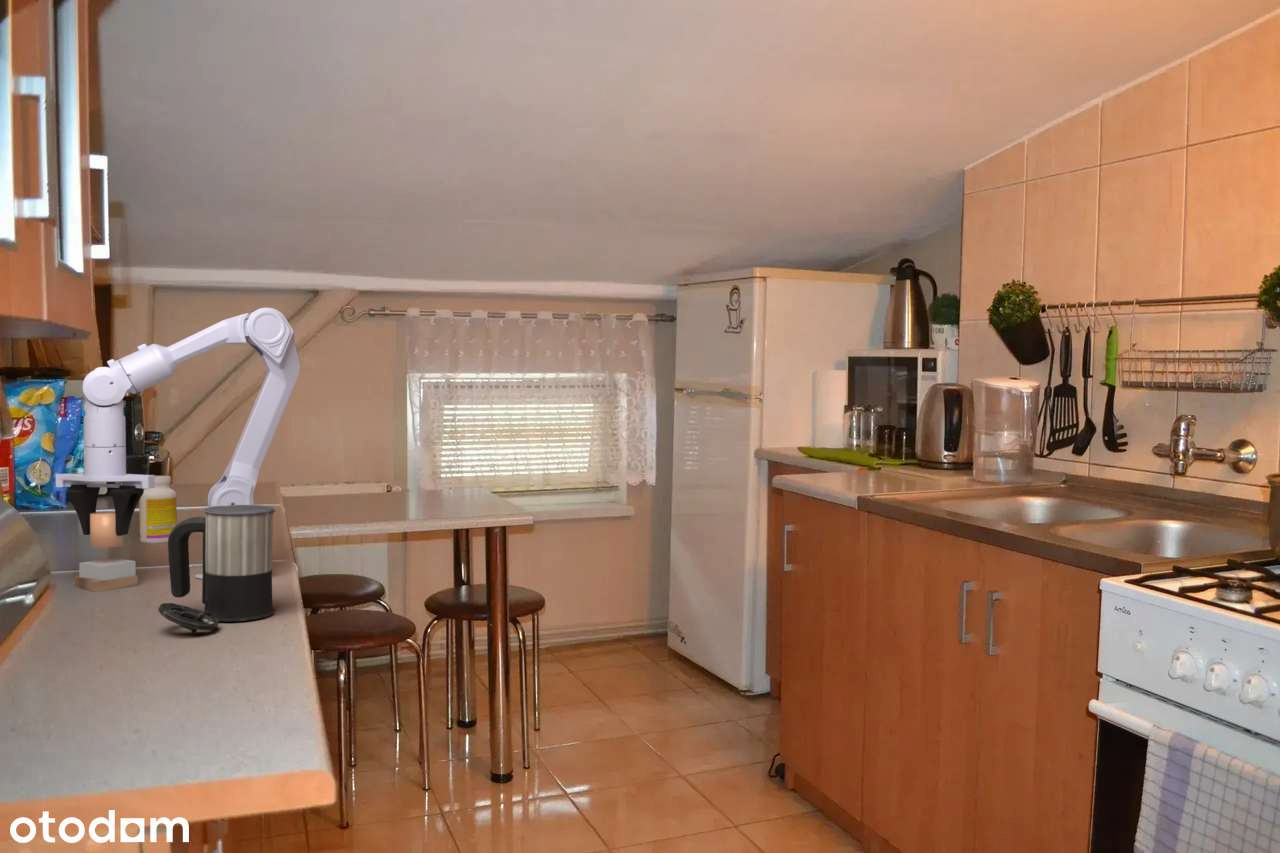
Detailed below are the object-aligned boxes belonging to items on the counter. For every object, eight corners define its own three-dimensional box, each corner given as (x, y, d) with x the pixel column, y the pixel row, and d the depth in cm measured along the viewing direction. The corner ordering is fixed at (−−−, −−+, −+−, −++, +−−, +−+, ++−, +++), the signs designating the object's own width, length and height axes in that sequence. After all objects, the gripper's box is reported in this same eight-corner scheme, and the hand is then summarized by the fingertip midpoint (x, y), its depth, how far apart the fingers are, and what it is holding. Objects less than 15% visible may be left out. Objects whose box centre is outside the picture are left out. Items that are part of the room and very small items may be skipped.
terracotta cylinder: (129, 545, 159) (129, 513, 159) (99, 548, 155) (99, 515, 155) (113, 542, 162) (113, 510, 161) (83, 545, 158) (84, 513, 158)
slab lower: (137, 589, 159) (137, 575, 159) (95, 596, 154) (94, 582, 154) (117, 584, 163) (117, 570, 163) (74, 590, 158) (74, 576, 158)
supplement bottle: (184, 541, 203) (183, 476, 202) (152, 545, 197) (152, 478, 196) (163, 538, 206) (163, 474, 206) (132, 542, 201) (131, 476, 200)
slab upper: (135, 575, 160) (135, 561, 160) (103, 580, 155) (103, 566, 155) (112, 571, 162) (112, 557, 162) (79, 577, 157) (79, 562, 157)
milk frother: (275, 606, 146) (275, 502, 146) (277, 632, 132) (277, 517, 131) (165, 613, 141) (164, 505, 141) (155, 640, 127) (154, 521, 126)
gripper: (164, 445, 161) (165, 531, 162) (74, 444, 162) (75, 529, 162) (140, 448, 154) (141, 538, 155) (46, 446, 155) (47, 536, 155)
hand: (105, 534), depth 158 cm, fingers closed on terracotta cylinder, 5 cm apart
